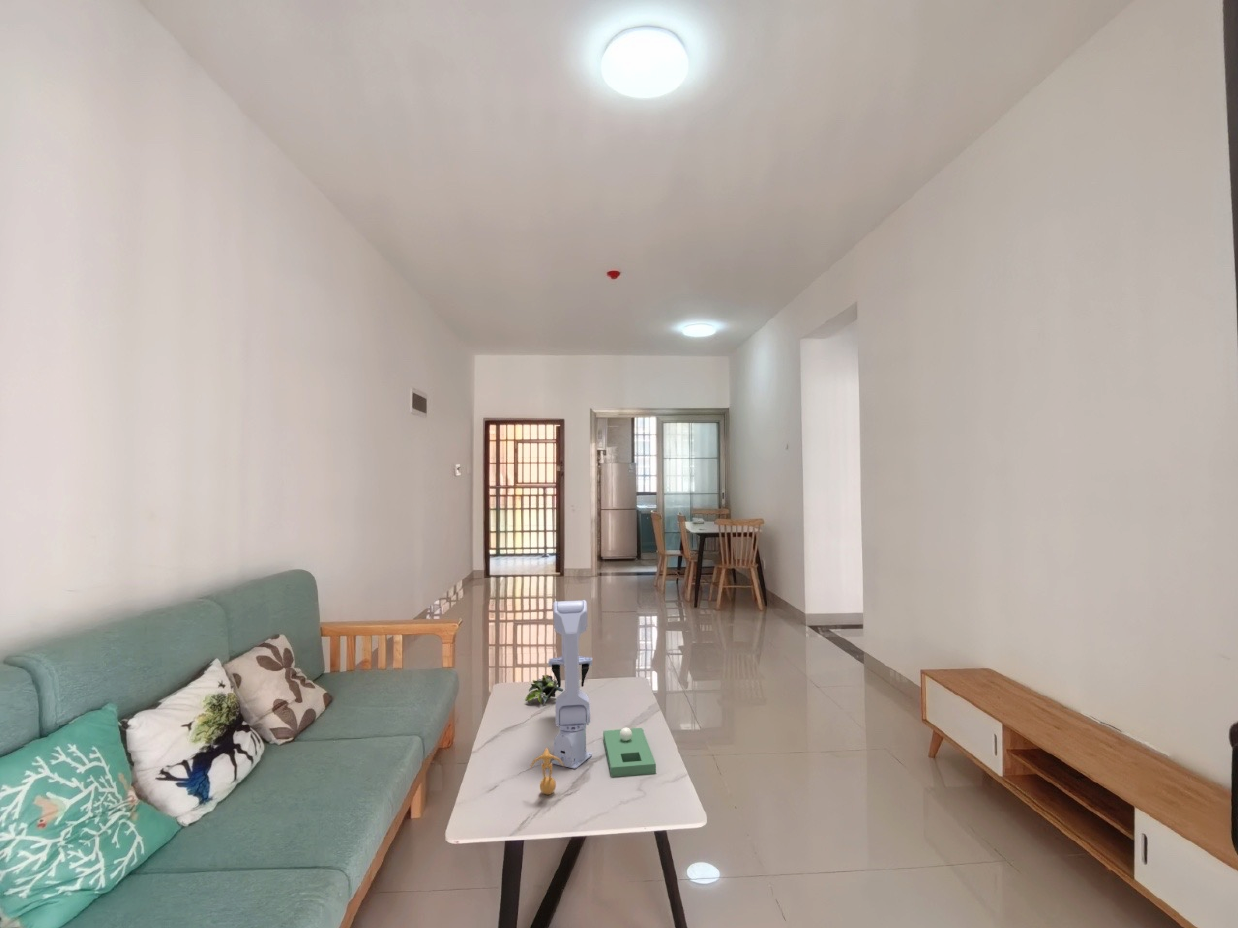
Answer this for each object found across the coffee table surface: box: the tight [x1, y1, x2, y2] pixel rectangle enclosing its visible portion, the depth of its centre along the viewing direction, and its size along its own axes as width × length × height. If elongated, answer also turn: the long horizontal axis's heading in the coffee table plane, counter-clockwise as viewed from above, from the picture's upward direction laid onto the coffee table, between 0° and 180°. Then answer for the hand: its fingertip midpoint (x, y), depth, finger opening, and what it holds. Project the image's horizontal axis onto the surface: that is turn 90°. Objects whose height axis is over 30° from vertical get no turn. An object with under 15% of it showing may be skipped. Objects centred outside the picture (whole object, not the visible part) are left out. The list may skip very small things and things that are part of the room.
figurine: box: [529, 747, 565, 796], centre depth 149 cm, size 8×6×12 cm
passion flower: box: [524, 674, 564, 707], centre depth 213 cm, size 11×11×12 cm
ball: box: [620, 726, 632, 741], centre depth 174 cm, size 4×4×4 cm
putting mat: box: [602, 727, 657, 778], centre depth 170 cm, size 24×12×2 cm, turn 7°
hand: (571, 685), depth 199 cm, fingers open, 7 cm apart
